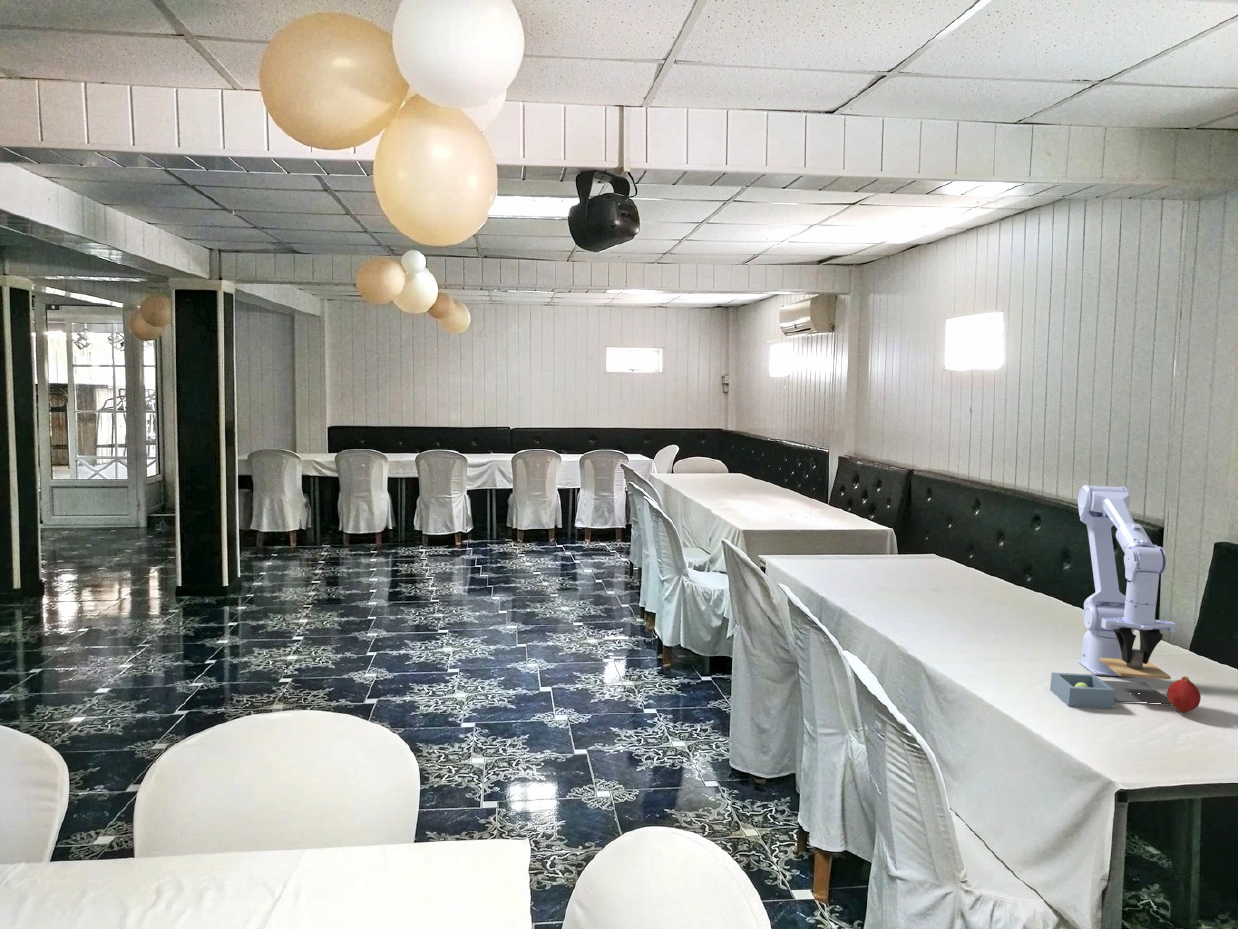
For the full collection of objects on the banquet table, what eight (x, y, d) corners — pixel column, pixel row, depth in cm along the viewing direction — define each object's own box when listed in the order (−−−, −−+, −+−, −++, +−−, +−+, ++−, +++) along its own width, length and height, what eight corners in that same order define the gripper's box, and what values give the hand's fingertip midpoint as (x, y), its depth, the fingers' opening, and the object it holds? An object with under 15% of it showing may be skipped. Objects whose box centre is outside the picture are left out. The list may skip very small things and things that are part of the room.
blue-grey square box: (1050, 690, 187) (1051, 672, 187) (1092, 692, 187) (1094, 674, 186) (1068, 706, 178) (1070, 688, 178) (1113, 708, 178) (1114, 690, 177)
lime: (1071, 692, 184) (1072, 680, 184) (1084, 693, 184) (1085, 680, 183) (1077, 697, 181) (1078, 685, 181) (1090, 698, 181) (1092, 685, 181)
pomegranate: (1167, 705, 180) (1171, 668, 179) (1199, 712, 177) (1204, 675, 176) (1163, 713, 176) (1167, 676, 175) (1196, 721, 172) (1201, 683, 171)
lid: (1099, 660, 191) (1101, 642, 191) (1147, 663, 190) (1148, 644, 190) (1120, 676, 181) (1122, 657, 181) (1170, 679, 180) (1172, 660, 180)
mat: (1090, 681, 193) (1090, 679, 193) (1145, 684, 192) (1145, 682, 192) (1116, 702, 181) (1117, 700, 181) (1175, 705, 180) (1175, 703, 180)
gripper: (1115, 605, 181) (1109, 666, 182) (1186, 608, 180) (1179, 670, 181) (1099, 596, 188) (1093, 655, 189) (1167, 598, 187) (1161, 658, 188)
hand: (1134, 662), depth 186 cm, fingers closed on lid, 3 cm apart
